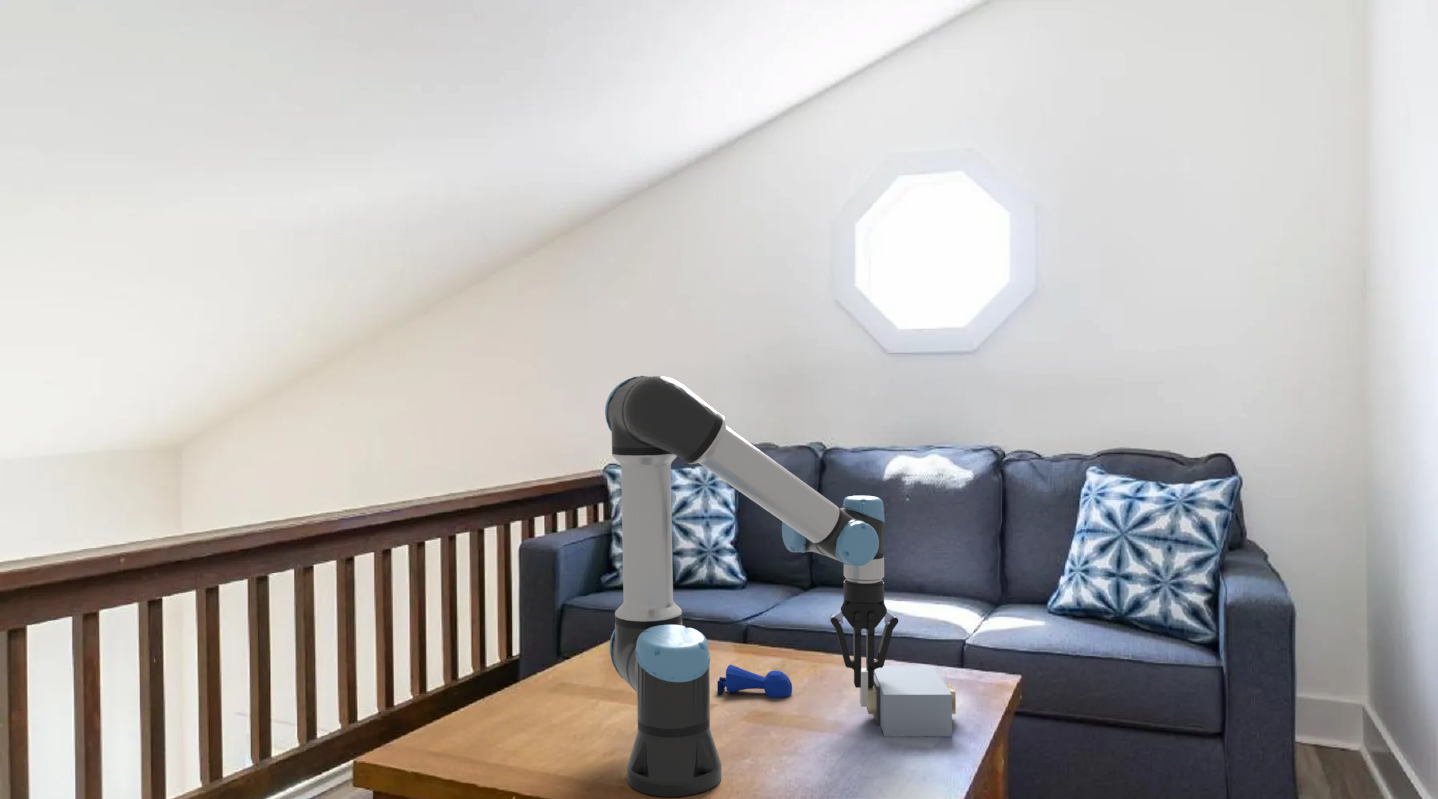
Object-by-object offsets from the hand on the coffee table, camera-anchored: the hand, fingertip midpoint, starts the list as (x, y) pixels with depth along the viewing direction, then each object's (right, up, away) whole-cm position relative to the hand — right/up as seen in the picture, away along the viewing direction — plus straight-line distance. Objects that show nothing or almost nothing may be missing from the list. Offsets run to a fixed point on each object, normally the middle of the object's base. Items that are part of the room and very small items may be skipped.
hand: (863, 704), depth 190 cm
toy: (-20, -3, +17) cm, 26 cm away
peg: (+9, -1, 0) cm, 9 cm away
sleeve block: (+9, -3, 0) cm, 9 cm away
